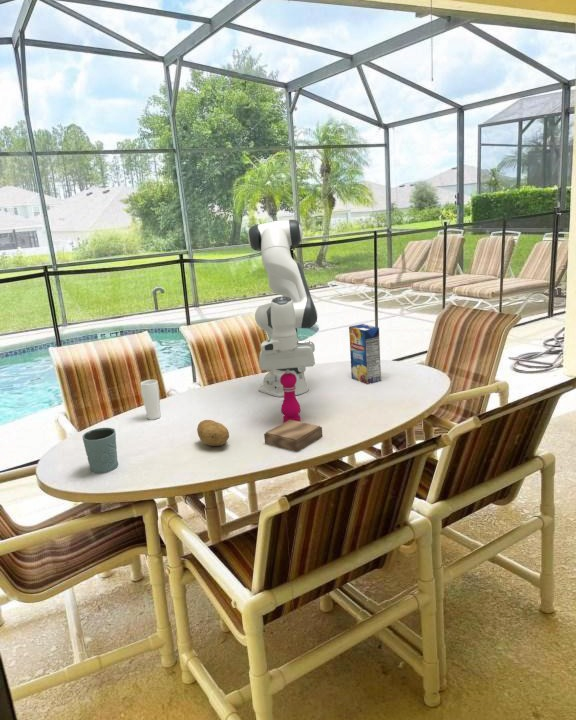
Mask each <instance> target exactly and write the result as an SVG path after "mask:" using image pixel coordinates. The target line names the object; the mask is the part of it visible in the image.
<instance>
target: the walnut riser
mask: <svg viewBox="0 0 576 720" xmlns="http://www.w3.org/2000/svg"><path fill="white" fill-rule="evenodd" d="M263 437H264V444H265V445H270V446H271V447H273V446H274V447H277V448H280V449H285V450H289V451H293V452H297V453H299V452H300V451H302V450H303V449H305V448H307V447H309V446H310V445H312V444H313V443H315V442H317V441H318V440H320V439H321V438H323V427H322V426H321V425H317V424H314V423H313V424H312V423H307V422H303V421H294V420H288V421H286V422H284V421H283V423H281V424H279V425H277V426H275V427H273V428H272V429H270V430H268V431H266V432H265V433H263Z"/></svg>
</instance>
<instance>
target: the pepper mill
mask: <svg viewBox="0 0 576 720" xmlns="http://www.w3.org/2000/svg"><path fill="white" fill-rule="evenodd" d="M296 382H297V379H296V376H295V375H294V374H292V373H290V370H289V369H286V370H285V374H283V375H282V376H281V378H280V383H281V384H282V385H283V386H282V388H283V389H282V390H283V391H284V396H283V401H282V403H281V408H280V410H281V411H280V412H281V414H282V415H283V416H282V420H283V423H284V422H286V421H288V420H294V421H299V422H301V421H300V420H301V416H300V413H301V405H300V403H299V402H298V399H297V398H296V396H297V395H295V390H296V386H295V384H296Z"/></svg>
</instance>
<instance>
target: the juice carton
mask: <svg viewBox="0 0 576 720" xmlns="http://www.w3.org/2000/svg"><path fill="white" fill-rule="evenodd" d="M348 330H349V331H348V333H349V334H348V335H349V351H350V356H349V357H350V370H351V372H350V373H351V379H352V380H354V381H356V382H359V381H360V383H363V384H365V385H370V383H371V384H374V383H378V382H382V376H381V375H382V372H381V345H380V344H381V343H380V327H377V326H373V325H368V324H365V323H361V324H355V325H350V326H348Z"/></svg>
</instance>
